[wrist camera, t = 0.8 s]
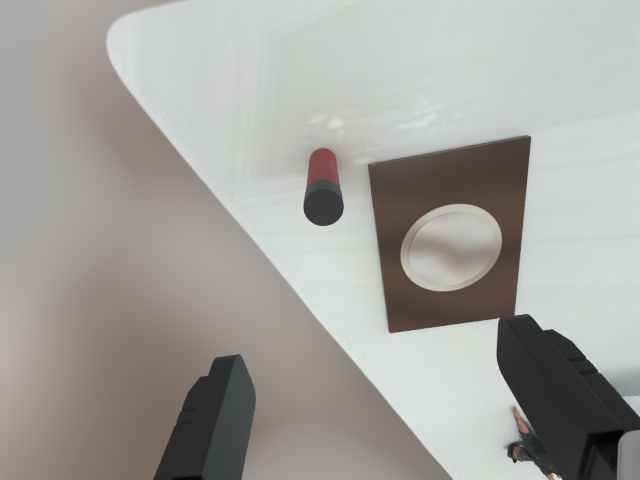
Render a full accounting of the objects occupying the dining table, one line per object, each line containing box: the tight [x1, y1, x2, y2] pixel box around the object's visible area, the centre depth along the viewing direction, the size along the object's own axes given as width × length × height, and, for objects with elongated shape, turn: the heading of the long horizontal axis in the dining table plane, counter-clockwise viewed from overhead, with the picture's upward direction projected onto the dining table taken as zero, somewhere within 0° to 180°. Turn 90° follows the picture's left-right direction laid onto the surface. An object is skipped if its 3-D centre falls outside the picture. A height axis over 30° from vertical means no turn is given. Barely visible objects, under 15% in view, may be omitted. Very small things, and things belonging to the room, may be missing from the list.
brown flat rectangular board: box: [368, 136, 531, 333], centre depth 35 cm, size 20×14×1 cm
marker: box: [304, 149, 344, 226], centre depth 26 cm, size 2×2×11 cm
